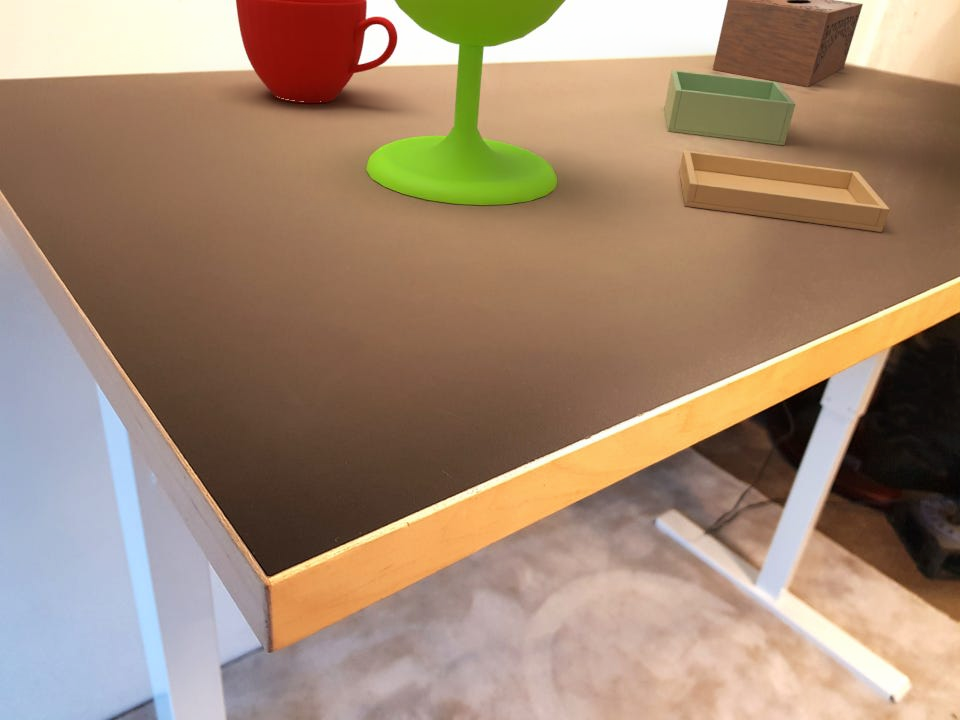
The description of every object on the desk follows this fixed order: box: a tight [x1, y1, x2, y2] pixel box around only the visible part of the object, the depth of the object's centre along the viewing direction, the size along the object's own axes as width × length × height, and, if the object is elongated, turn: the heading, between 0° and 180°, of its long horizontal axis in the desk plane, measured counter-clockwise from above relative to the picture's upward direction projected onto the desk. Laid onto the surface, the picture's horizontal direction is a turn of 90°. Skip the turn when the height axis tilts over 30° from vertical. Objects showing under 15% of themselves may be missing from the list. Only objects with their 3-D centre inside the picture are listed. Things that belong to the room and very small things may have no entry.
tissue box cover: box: [712, 0, 864, 88], centre depth 126 cm, size 26×14×10 cm, turn 147°
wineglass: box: [365, 0, 567, 206], centre depth 62 cm, size 16×16×18 cm
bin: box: [663, 69, 796, 146], centre depth 88 cm, size 12×12×4 cm
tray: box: [678, 149, 890, 233], centre depth 66 cm, size 15×10×2 cm
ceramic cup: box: [235, 0, 398, 104], centre depth 82 cm, size 13×17×10 cm
